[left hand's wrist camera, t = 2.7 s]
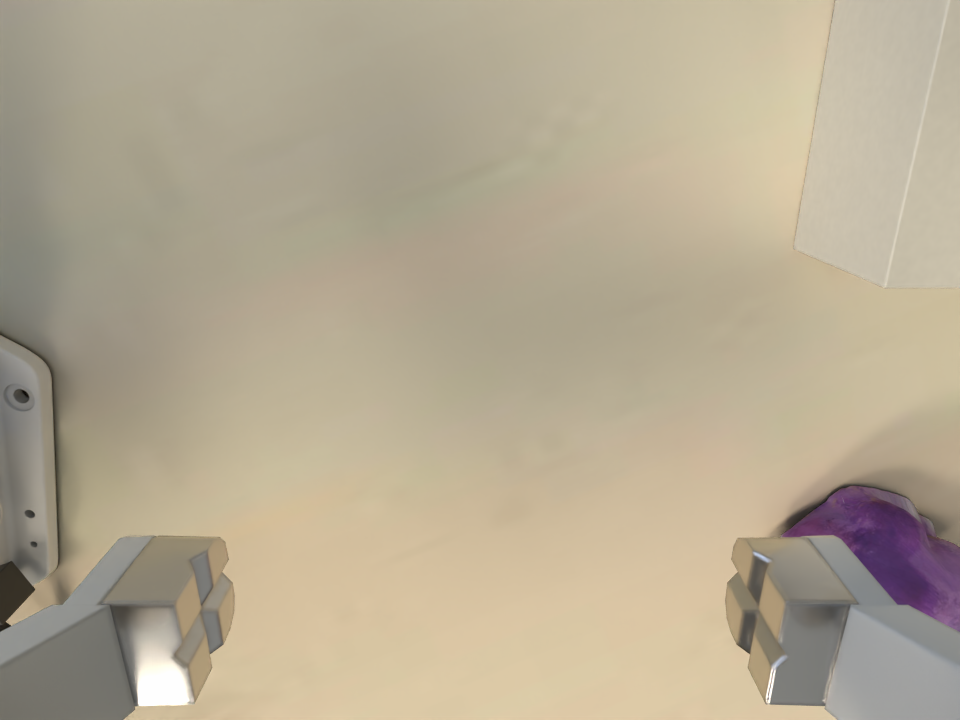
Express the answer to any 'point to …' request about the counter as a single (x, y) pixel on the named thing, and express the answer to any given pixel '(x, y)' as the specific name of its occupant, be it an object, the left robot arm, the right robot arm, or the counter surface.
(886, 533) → the figurine
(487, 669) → the counter surface
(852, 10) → the bar
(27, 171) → the counter surface
